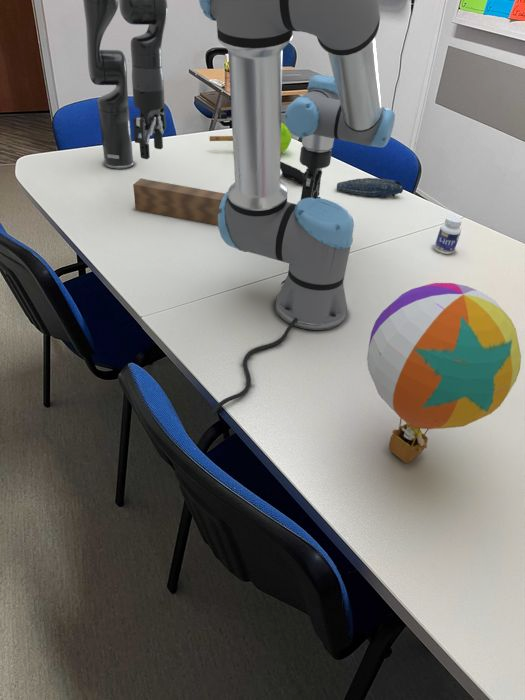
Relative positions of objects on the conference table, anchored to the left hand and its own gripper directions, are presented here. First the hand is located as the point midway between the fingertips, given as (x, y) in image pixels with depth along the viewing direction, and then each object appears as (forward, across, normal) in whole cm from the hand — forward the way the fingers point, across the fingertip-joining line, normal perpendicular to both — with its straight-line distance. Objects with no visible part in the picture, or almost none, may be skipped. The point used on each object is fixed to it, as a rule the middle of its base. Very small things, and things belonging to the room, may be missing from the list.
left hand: (152, 153), depth 137 cm
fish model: (+16, -39, +57) cm, 71 cm away
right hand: (+14, 0, +43) cm, 45 cm away
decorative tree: (+16, -59, +11) cm, 62 cm away
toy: (+16, +69, +73) cm, 102 cm away
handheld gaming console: (+16, -40, +32) cm, 54 cm away
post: (+16, 0, +22) cm, 27 cm away
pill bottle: (+16, -8, +80) cm, 82 cm away
